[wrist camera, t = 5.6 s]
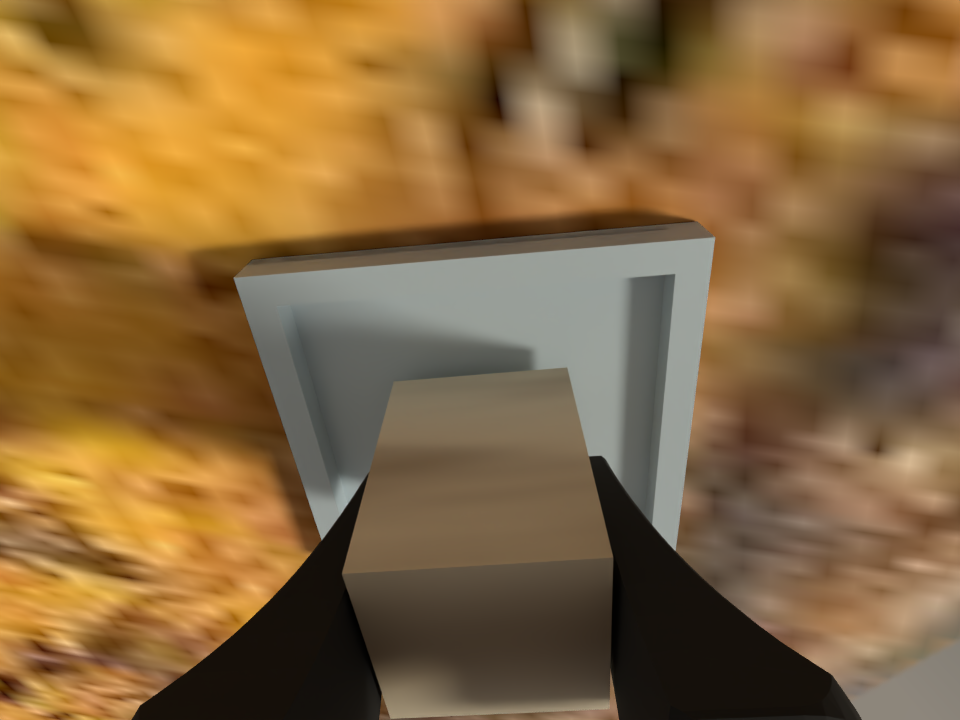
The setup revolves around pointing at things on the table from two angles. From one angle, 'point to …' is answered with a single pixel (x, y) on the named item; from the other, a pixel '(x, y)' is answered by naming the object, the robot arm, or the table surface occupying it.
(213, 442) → the table surface
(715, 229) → the table surface
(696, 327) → the tray
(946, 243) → the table surface
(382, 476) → the beech block
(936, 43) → the table surface
